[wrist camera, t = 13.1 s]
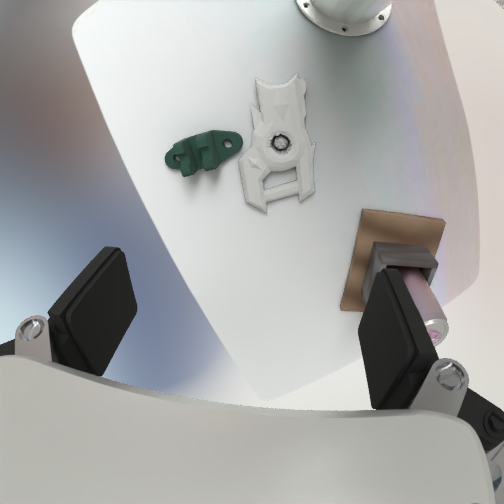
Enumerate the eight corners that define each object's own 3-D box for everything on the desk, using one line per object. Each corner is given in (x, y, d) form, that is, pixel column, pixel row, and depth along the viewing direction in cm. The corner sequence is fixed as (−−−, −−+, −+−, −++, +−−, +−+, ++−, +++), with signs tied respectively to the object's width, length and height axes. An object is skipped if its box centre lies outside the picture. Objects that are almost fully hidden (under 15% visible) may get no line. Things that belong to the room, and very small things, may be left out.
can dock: (362, 208, 39) (373, 227, 34) (442, 219, 38) (460, 238, 33) (340, 306, 49) (344, 331, 43) (410, 308, 48) (420, 332, 42)
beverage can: (402, 287, 44) (431, 355, 31) (373, 278, 44) (398, 349, 31) (420, 257, 41) (458, 323, 28) (391, 246, 41) (426, 314, 28)
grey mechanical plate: (221, 83, 30) (308, 72, 28) (226, 82, 33) (305, 72, 31) (247, 218, 40) (321, 211, 38) (249, 207, 43) (318, 200, 41)
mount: (238, 123, 36) (231, 127, 31) (246, 154, 38) (241, 163, 33) (163, 145, 38) (148, 153, 34) (173, 174, 40) (160, 185, 36)
